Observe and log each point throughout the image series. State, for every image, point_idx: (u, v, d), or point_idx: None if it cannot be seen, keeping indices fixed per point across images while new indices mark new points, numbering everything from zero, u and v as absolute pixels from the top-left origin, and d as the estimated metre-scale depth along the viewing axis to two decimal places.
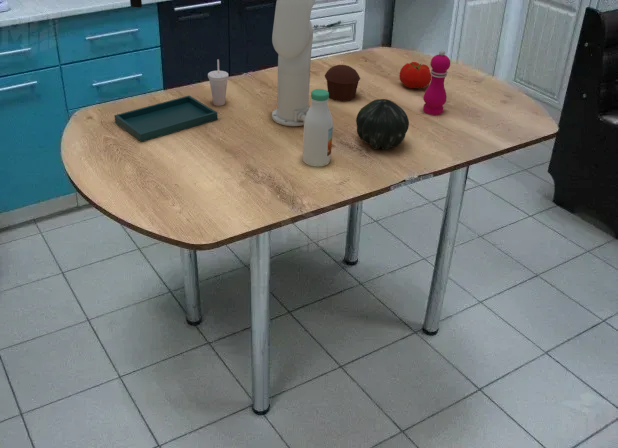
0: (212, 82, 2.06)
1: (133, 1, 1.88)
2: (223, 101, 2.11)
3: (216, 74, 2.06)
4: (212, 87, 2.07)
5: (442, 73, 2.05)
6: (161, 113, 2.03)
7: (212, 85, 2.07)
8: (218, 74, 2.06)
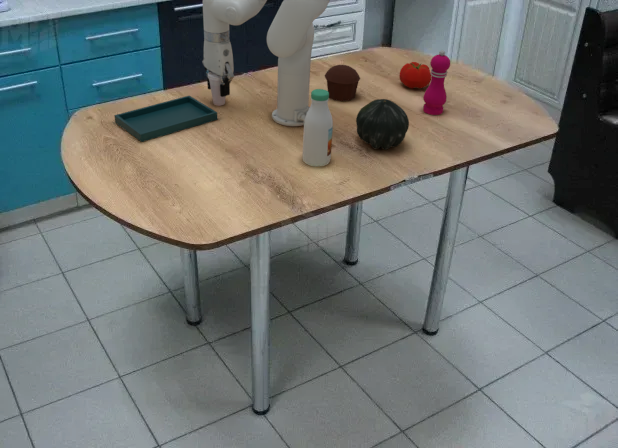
0: (212, 82, 2.06)
1: (225, 91, 2.06)
2: (223, 101, 2.11)
3: (216, 74, 2.06)
4: (212, 87, 2.07)
5: (442, 73, 2.05)
6: (161, 113, 2.03)
7: (212, 85, 2.07)
8: None
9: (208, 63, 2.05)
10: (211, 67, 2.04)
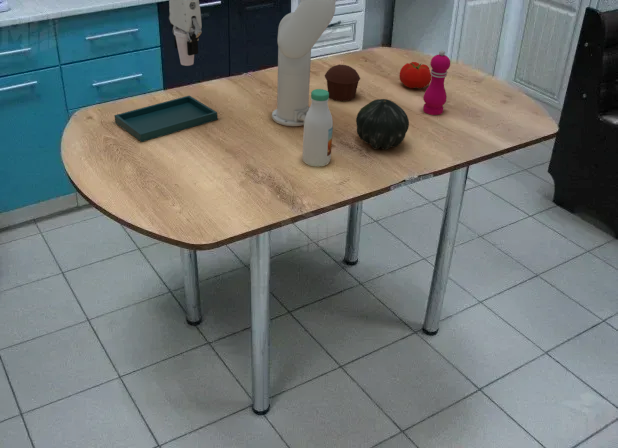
0: (178, 39, 1.89)
1: (193, 49, 1.90)
2: (191, 61, 1.94)
3: (183, 30, 1.90)
4: (179, 45, 1.91)
5: (442, 73, 2.05)
6: (161, 113, 2.03)
7: (178, 43, 1.90)
8: None
9: (174, 18, 1.88)
10: (177, 22, 1.88)
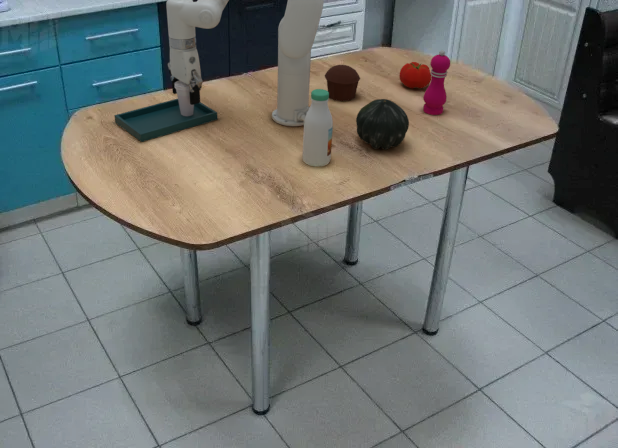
0: (178, 91, 1.97)
1: (195, 99, 1.96)
2: (191, 112, 2.02)
3: (183, 83, 1.97)
4: (179, 97, 1.98)
5: (442, 73, 2.05)
6: (161, 113, 2.03)
7: (179, 95, 1.98)
8: (185, 83, 1.97)
9: (174, 71, 1.96)
10: (177, 75, 1.95)
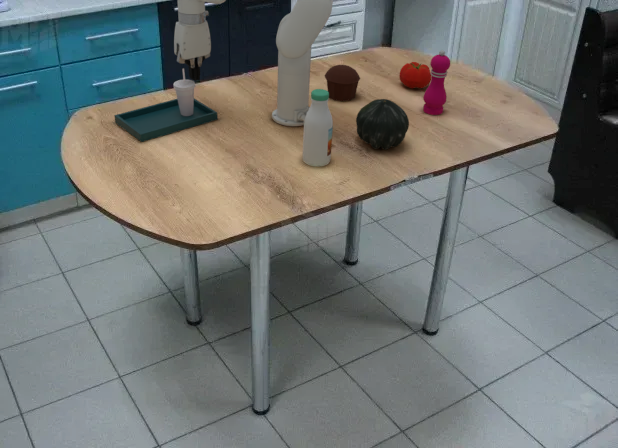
0: (177, 92, 1.97)
1: None
2: (191, 111, 2.02)
3: (182, 83, 1.97)
4: (178, 97, 1.98)
5: (442, 73, 2.05)
6: (161, 113, 2.03)
7: (178, 95, 1.98)
8: (184, 83, 1.97)
9: (192, 50, 1.92)
10: (197, 52, 1.93)
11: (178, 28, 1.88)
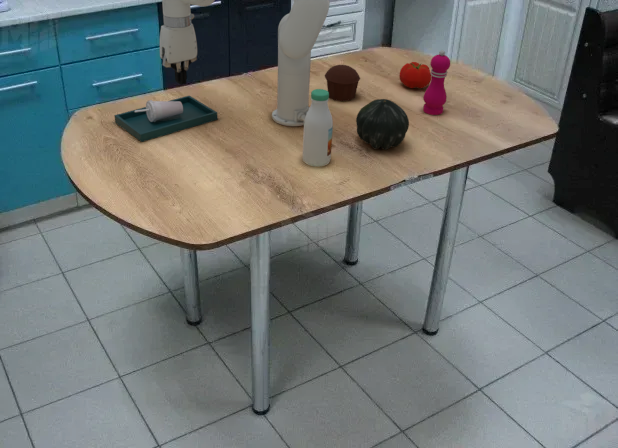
0: None
1: None
2: (179, 109, 1.99)
3: (149, 114, 1.96)
4: None
5: (442, 73, 2.05)
6: None
7: None
8: (150, 113, 1.95)
9: (178, 54, 1.90)
10: (183, 56, 1.91)
11: (163, 32, 1.86)
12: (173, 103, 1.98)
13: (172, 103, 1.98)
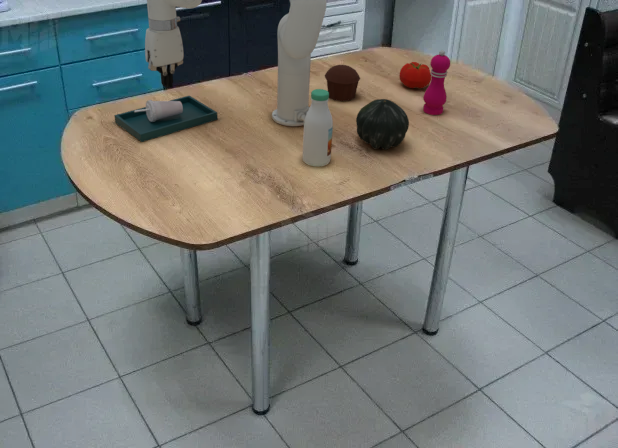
0: None
1: None
2: (179, 108, 1.99)
3: (149, 114, 1.96)
4: None
5: (442, 73, 2.05)
6: None
7: None
8: (149, 113, 1.96)
9: (164, 57, 1.87)
10: (169, 59, 1.88)
11: (148, 35, 1.83)
12: (173, 102, 1.98)
13: (172, 102, 1.98)
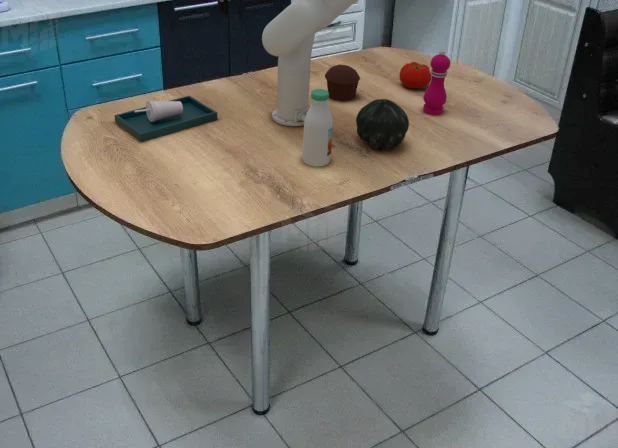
0: None
1: None
2: (179, 109, 1.99)
3: (149, 114, 1.96)
4: None
5: (442, 73, 2.05)
6: None
7: None
8: (149, 113, 1.95)
9: None
10: None
11: None
12: (173, 103, 1.98)
13: (172, 103, 1.98)
